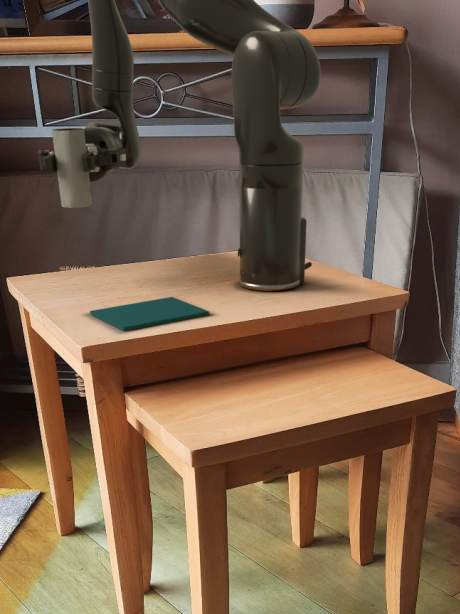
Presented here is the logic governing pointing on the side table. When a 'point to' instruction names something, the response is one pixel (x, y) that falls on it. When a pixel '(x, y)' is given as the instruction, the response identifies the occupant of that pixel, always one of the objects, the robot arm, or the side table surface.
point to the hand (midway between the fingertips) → (67, 164)
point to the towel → (148, 313)
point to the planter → (72, 167)
